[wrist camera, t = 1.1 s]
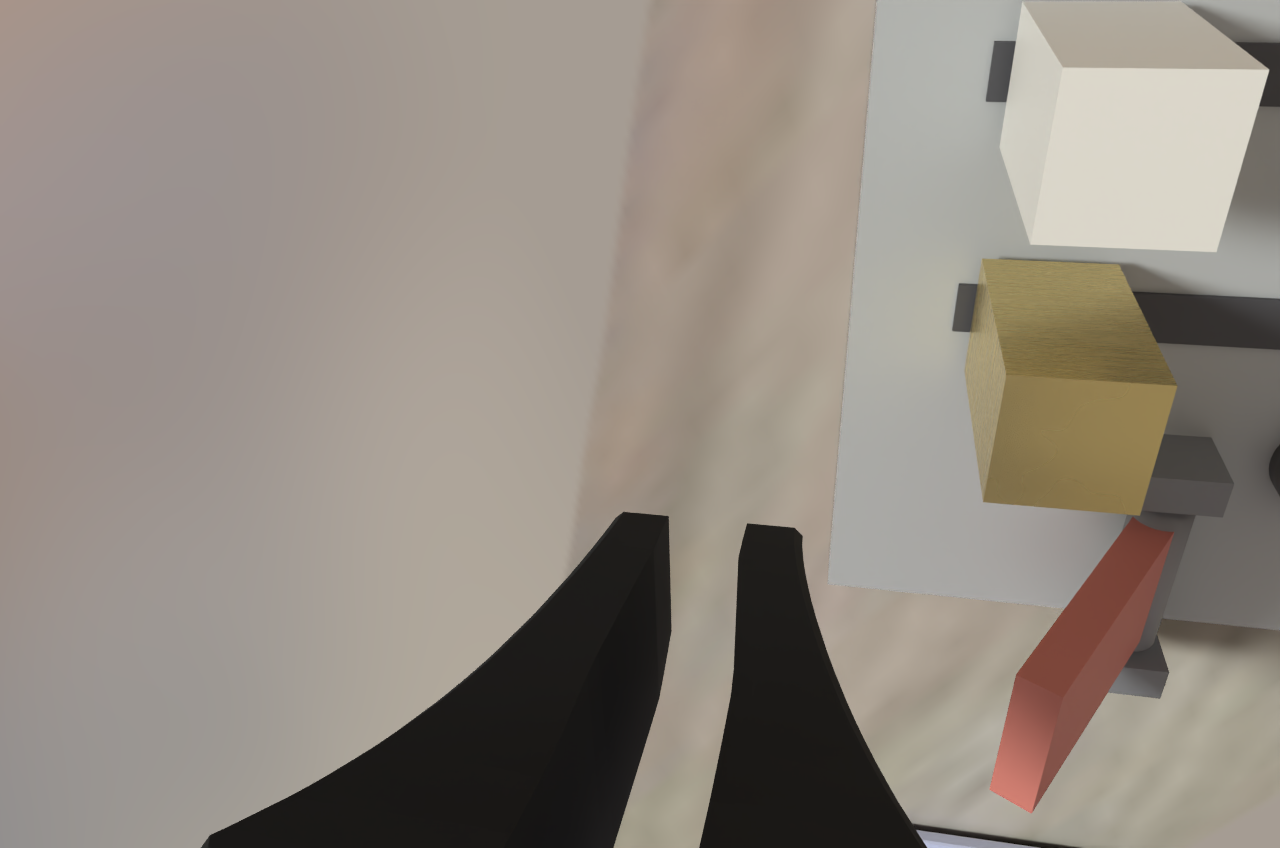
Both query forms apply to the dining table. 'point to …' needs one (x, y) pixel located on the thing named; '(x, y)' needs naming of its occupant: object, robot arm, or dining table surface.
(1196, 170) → the white slider
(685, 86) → the dining table surface
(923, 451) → the panel
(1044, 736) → the red paddle
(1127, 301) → the brass slider
